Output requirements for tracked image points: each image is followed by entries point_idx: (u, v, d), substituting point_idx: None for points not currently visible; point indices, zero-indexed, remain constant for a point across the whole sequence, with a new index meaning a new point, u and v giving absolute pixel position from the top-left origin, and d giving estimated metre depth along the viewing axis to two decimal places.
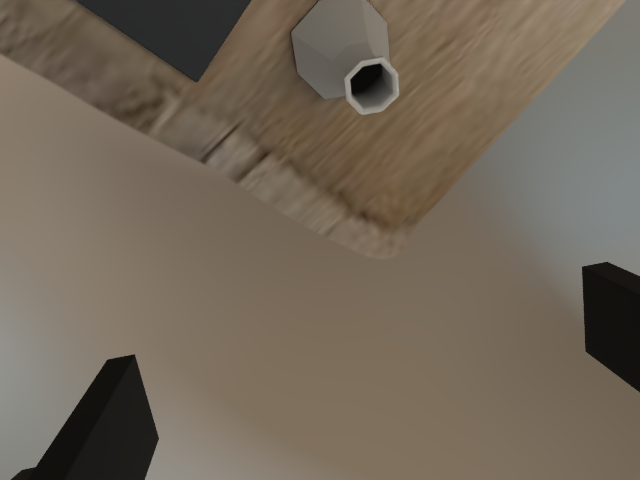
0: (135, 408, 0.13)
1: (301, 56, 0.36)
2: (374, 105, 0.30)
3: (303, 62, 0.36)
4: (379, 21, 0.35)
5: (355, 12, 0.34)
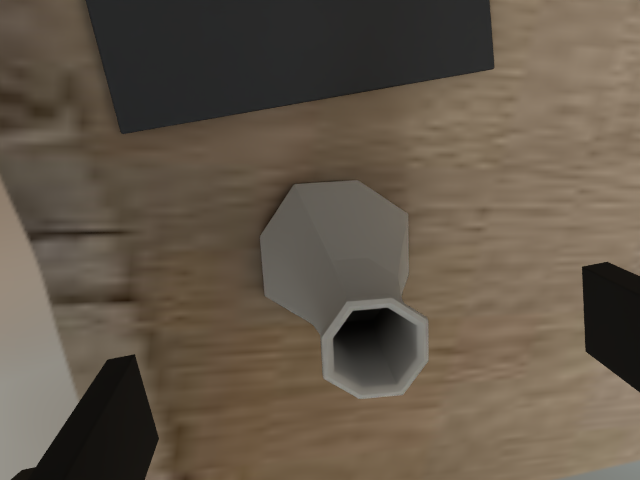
0: (135, 408, 0.13)
1: (284, 221, 0.22)
2: (352, 378, 0.15)
3: (280, 229, 0.22)
4: (407, 263, 0.23)
5: (394, 228, 0.21)
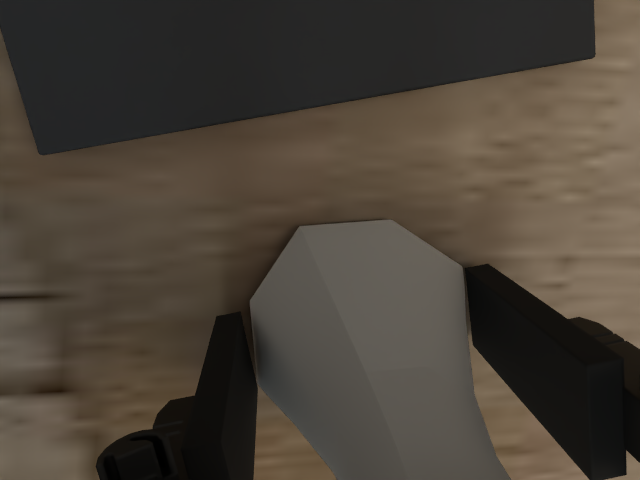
0: (246, 357, 0.15)
1: (285, 282, 0.15)
2: None
3: (280, 296, 0.15)
4: None
5: (450, 296, 0.14)
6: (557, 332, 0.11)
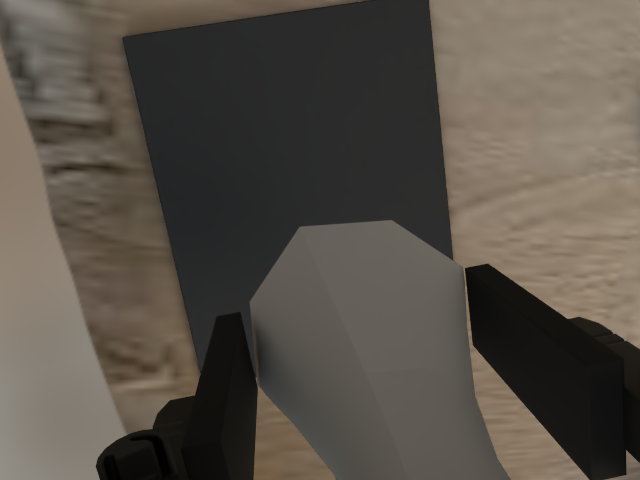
0: (246, 357, 0.15)
1: (285, 283, 0.15)
2: None
3: (280, 296, 0.15)
4: None
5: (451, 297, 0.14)
6: (557, 332, 0.11)
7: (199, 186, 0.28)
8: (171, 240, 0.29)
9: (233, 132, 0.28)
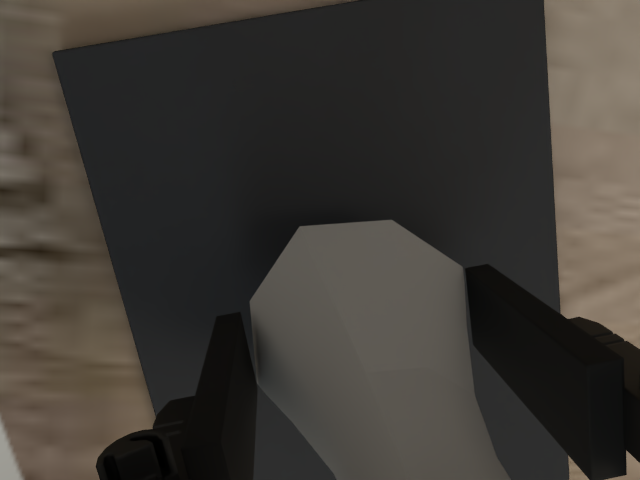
0: (246, 357, 0.15)
1: (285, 282, 0.15)
2: None
3: (280, 296, 0.15)
4: None
5: (451, 296, 0.14)
6: (557, 332, 0.11)
7: (183, 278, 0.18)
8: (142, 359, 0.19)
9: (234, 197, 0.18)
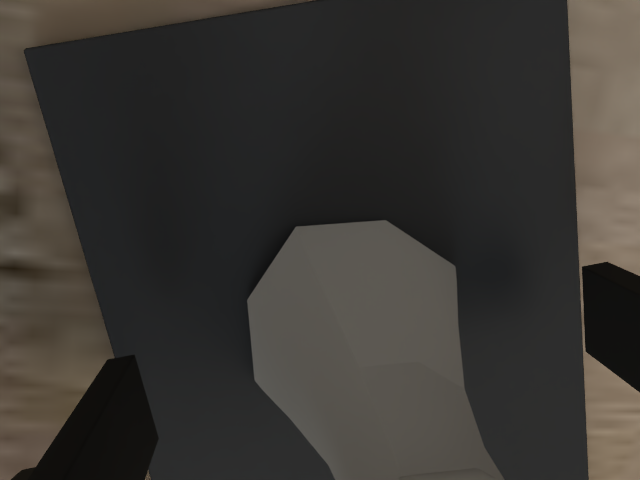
0: (135, 408, 0.13)
1: (281, 281, 0.15)
2: None
3: (277, 295, 0.15)
4: None
5: (443, 294, 0.15)
6: None
7: (171, 298, 0.17)
8: None
9: (226, 209, 0.16)
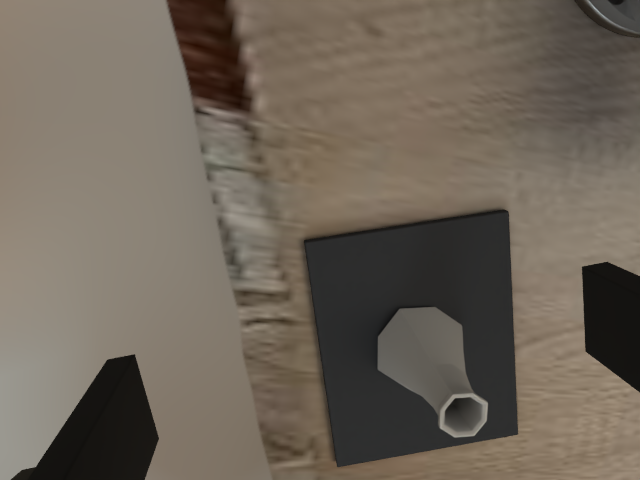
0: (135, 408, 0.13)
1: (395, 331, 0.40)
2: (451, 427, 0.33)
3: (394, 336, 0.39)
4: None
5: (457, 339, 0.39)
6: None
7: (347, 335, 0.41)
8: (324, 370, 0.41)
9: (372, 301, 0.40)
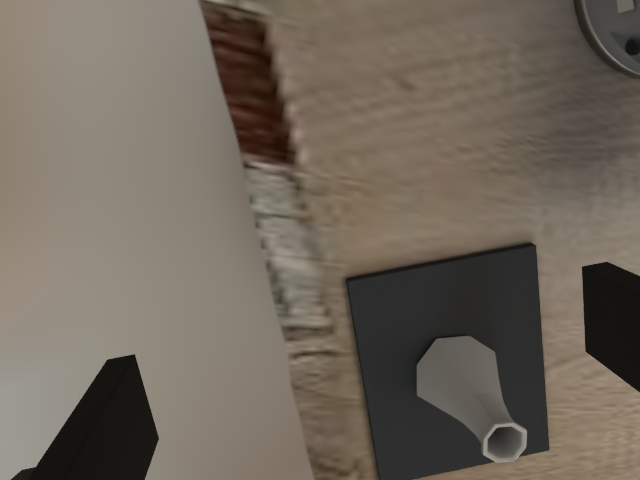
0: (135, 408, 0.13)
1: (433, 360, 0.43)
2: (493, 454, 0.35)
3: (432, 365, 0.42)
4: None
5: (492, 366, 0.42)
6: None
7: (387, 364, 0.44)
8: (367, 397, 0.44)
9: (410, 332, 0.43)
